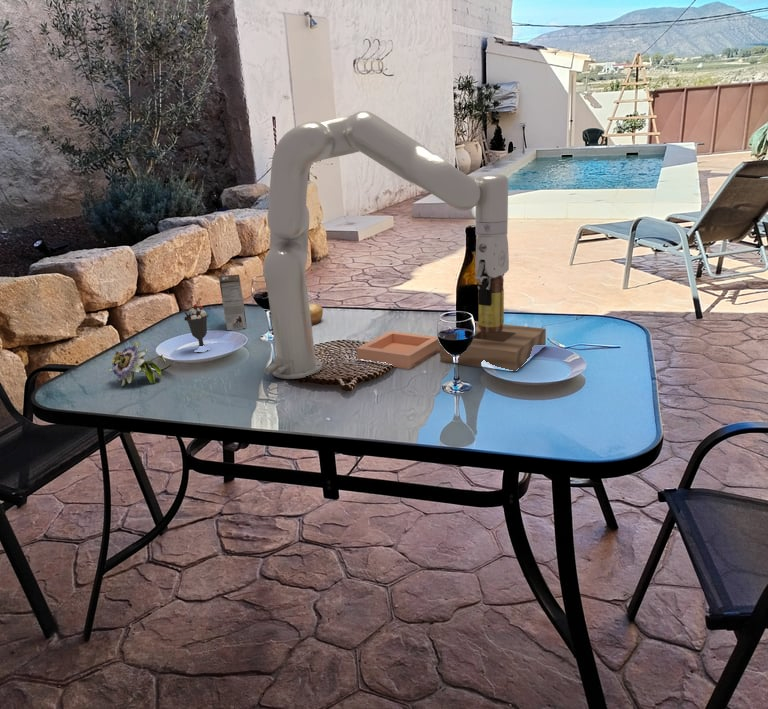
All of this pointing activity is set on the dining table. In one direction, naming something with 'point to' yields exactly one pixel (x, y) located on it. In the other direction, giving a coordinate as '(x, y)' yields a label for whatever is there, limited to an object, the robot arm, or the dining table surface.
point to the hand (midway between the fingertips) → (490, 301)
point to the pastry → (315, 313)
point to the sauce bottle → (492, 308)
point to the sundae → (197, 322)
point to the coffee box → (232, 302)
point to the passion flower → (133, 364)
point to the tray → (399, 349)
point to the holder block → (500, 347)
